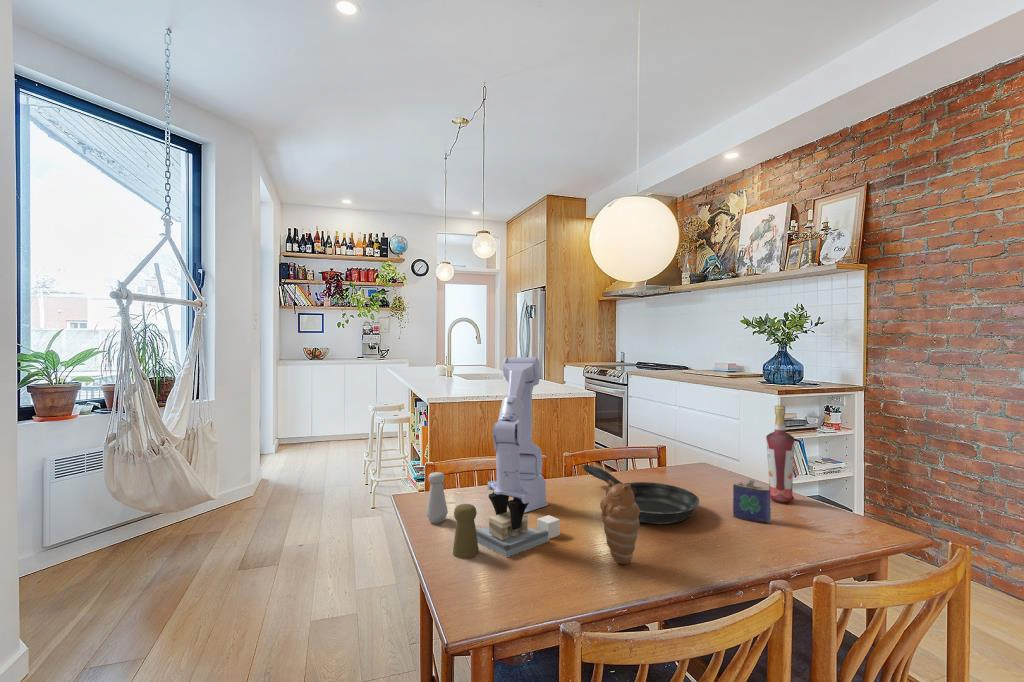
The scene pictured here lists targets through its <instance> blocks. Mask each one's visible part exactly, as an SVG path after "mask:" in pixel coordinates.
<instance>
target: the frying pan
mask: <svg viewBox="0 0 1024 682" xmlns="http://www.w3.org/2000/svg"><path fill="white" fill-rule="evenodd" d="M582 468H583V470H584V471H585V472H587V473H588V474H589V475H591V476H592V477H594V478H597V479H599V480H601V481H604V482H605V483H607V485H608V486H609V480H611V481H613V482H614V483H615V484H625V485H627V484H631V490H632V491H633V494H634V499H635V502H636V503H637V505H638V507H639V509H640V514H639V516H638V519H639V523H645V524H651V525H668V524H675V523H678V522H679V523H680V522H682V521H683V520H685V519H687V518H688V517H690V516H691V515H692V514H693V513H694V511H695V510H696V508H697V507H698V506H699V505H700V498H699V497H698V495H696V494H694V493H693V492H691V491H690V490H688V489H685V488H681V487H678V486H675V485H671V484H665V483H659V482H658V483H657V482H644V481H643V482H642V481H641V482H640V481H639V482H636V481H634V482H633V481H632V482H624V483H623V482H622V481H620V480H619V479H617V478H616V477H615V476H614V475H613V474H611V473H609V472H608V471H606V470H604V469H602V468H600V467H597V466H593V465H589V464H584V465H583V466H582ZM608 491H609V488H608V489H607V490H606V492H605V496H606V495H607V493H608Z"/></svg>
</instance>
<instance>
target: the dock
mask: <svg viewBox="0 0 1024 682" xmlns="http://www.w3.org/2000/svg"><path fill="white" fill-rule="evenodd" d="M476 535H477V542H478V544H480V545H482V546H484V547H486V548H487V549H489V550H491V549H492V550H491V551H493V550H494V552H495V551H496V552H495V553H497V552H498V553H497V554H499V553H500V554H499V555H501V554H502V555H501V556H503V557H505V556H506V557H507V558H509V557H508V556H510V557H512V556H514V555H513V554H515V555H517V554H520V553H522V552H521V551H523V552H525V551H527V550H526V549H528V550H530V549H533V548H535V547H538V546H541V545H543V544H546V543H548V542H549V539H548V531H546V530H545V531H543V532H539V531H537V529H535V528H532V527H529V526H528V525H527V532H524V533H521V532H519V531H518V535H516V536H513V537H512V536H510V535H508V534H507V539H504V540H501V539H499V538H497V537H495V536H493V535H491V534H489V526H487V527H484V528H481V529H477V528H476ZM545 542H546V543H545ZM542 543H543V544H542ZM540 544H541V545H540ZM537 545H538V546H537ZM534 546H535V547H534ZM532 547H533V548H532ZM529 548H530V549H529ZM524 550H525V551H524ZM519 552H520V553H519ZM516 553H517V554H516ZM511 555H512V556H511ZM506 557H505V558H506Z"/></svg>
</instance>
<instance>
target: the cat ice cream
mask: <svg viewBox="0 0 1024 682" xmlns="http://www.w3.org/2000/svg"><path fill="white" fill-rule="evenodd" d="M608 489H609V491H608V493H607V495H606V494H605V496H604V497H602V499H601V500H600V505H599V507H600V510H601V514H600V515H601V517H600V518H601V521H602V522H603V532H604V535H605V536H606V537H605V539H606V544H607V546H608V548H609V551H610V552H609V553H610V555H611V557H612V559H613V560H614V561H615V562H616V563H617V564H619V565H627V564H629V563H630V562H632V559H633V556H634V555H633V554H634V551H635V548H636V541H637V538H638V531H639V529H640V525H641V522H639V519H638V516H639V514H640V509H639V507H638V505H637V503H636V502H635V499H634V494H633V491H632V490H631V484H627V485H625V483H623V484H615V483H614V482H613V481H611V480H609V485H608Z"/></svg>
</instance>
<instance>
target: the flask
mask: <svg viewBox="0 0 1024 682" xmlns="http://www.w3.org/2000/svg"><path fill="white" fill-rule="evenodd" d="M732 488H733V492H732V493H733V498H732V499H733V500H732V501H733V502H732V505H733V506H732V511H733V512H732V514H733V517H734V518H735V519H739V520H742V521H747V522H751V523H758V524H766V525H769V524H771V523H772V522H771V521H772V520H771V511H772V510H771V509H772V508H771V498H770V493H771V491H770V489H769V488H768V487H763V486H756V485H755V479H747V483H745V482H742V481H740V482H735V483H733V485H732Z"/></svg>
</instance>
